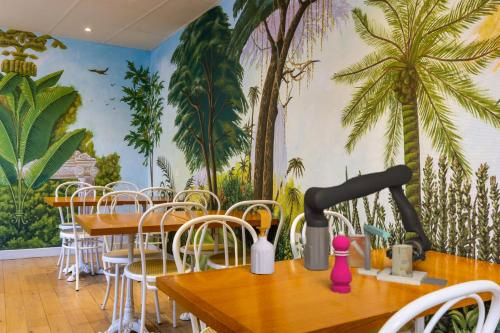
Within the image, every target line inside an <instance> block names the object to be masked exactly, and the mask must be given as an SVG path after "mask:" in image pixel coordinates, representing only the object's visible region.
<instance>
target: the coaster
mask: <svg viewBox="0 0 500 333" xmlns="http://www.w3.org/2000/svg"><path fill="white" fill-rule="evenodd" d="M447 282H448V279H444V278H437V277H436V278H435V277H428V276H427V277H426V278H425V280H424V281H423V282H422V284H426V285H427V284H428V285H435V286H443V287H445V286H446V284H447Z"/></svg>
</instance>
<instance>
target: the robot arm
mask: <svg viewBox="0 0 500 333" xmlns="http://www.w3.org/2000/svg"><path fill="white" fill-rule="evenodd" d="M413 175H414V173H413V170H412V169H411V167H410V166H408V165H407V164H397V165H394V166H390V167H388V168H386V169H385V170H382V171H377V172H376V171H375V172H370V173H366V174H365V173H364V174H361V175H357V176H353V177H351V178H349V179H347V180H345V181H344V182H342V183H340V184H338V185H334V186H333V185H332V186H329V187H327V186H326V187H321V186H320V187H319V186H312V187H309V188H307V189H306V190H305V193H304V195H303V213H304V214H303V215H304V219H305V220H304V221H305V224H306V225H305V227H306V228H305V229H306V230H305V232H306V233H305V235H306V236H305V237H306V238H305V240H306V241H305V242H306V243H304V248H303V249H304V252H303V253H304V258H303V259H304V263H303V264H304V268H306V269H308V270H309V271H310V270H311V271H325V270H329V269H330V259H329V258H330V251H329V250H330V247H329V246H330V220H329V218H328V217H327V216H326V215H325V210H327V209H330V208H333V207H335V206H337V205H339V204H341V203H344V202H345V203H346V202H350V201H354V200H358V199H362V198H365V197H368V196H370V195H371V196H372V195H373V194H376V193H378V192H380V191H384V190H385V189H387V188H388V190H389V192H390V194H391V196H392V198H393V200H394V202H395V204H396V207H397V210H398V212H399V216H400V218H401V221H402V224H403V228H404V231H405V232H406V233H413V234H417V236H413V237H408V238H406V240H405V242H404V243H403V244H405V245H410V246H412V263H416V262H420V261H422V262H425V261H426V259H427V252H429V251H430V250H431V249H432V243H431V239H430V238H429V237H428V235H427V234H426V232H425V230H424V228H423V226H422V224H421V220H420V217H419V215H418V212H417V209H416V208H415V207H414V205H413V204H412V203H411V201H410V200H409V199H408V197H407V196H406V194H405V192H404V190H403V186H405V185H407V184H410V182H411V181H412V179H413ZM392 252H393V247H392V248H391V247H390V248H389V249H386V250H385V258H388V259H389V260H392Z"/></svg>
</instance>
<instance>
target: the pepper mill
mask: <svg viewBox="0 0 500 333" xmlns="http://www.w3.org/2000/svg"><path fill="white" fill-rule="evenodd" d="M344 234H345V232H343V230H339V231H338V235H337V236H334V237H333V238H332V241H331V246H332V248H333V249H334V250H333V255H334V264H333V267H332V269H331V271H330V275H329V280H330V281H331V283H332V284H331V291H332V292H333V291H334V292H333V293H336V292H339V293H338V294H347V293H348V294H349V293H350V292H351V288H352V286H351V285H350V283H351V282H352V281H353V275H352V271H351V270H350V267H349V266H348V262H347V255H349V254H348V252H349V251H348V248H349V247H350V241H349V239H348V236H345V235H344Z"/></svg>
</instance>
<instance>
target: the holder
mask: <svg viewBox="0 0 500 333" xmlns="http://www.w3.org/2000/svg"><path fill="white" fill-rule="evenodd" d="M364 234H365V268H364V267H359V268H358V270H357V274H360V275H366V276H374V277H376V280H377V281H384V282H391V283H399V284H406V285H412V286H414V285H415V286H421V284H423V281H424V280H425V279H426V277H428V272H427V271H419V270H412V278H409V277H401V276H393V275H392V267H386V268H384V269H383V270H382V271H381V270H380V269H378V268H377V269H376V268H372V267H371V266H372V265H371V255H372V254H371V253H372V252H371V251H372V250H371V246H372V243H371V241H372V240H371V238H372V236H371V235H372V234H371V232H369V231H367V230H364Z"/></svg>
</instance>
